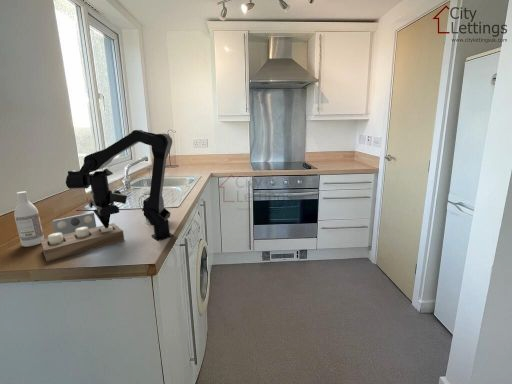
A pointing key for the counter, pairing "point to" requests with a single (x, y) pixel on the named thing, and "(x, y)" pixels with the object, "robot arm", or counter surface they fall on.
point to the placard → (74, 223)
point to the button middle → (82, 232)
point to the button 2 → (106, 229)
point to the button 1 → (55, 238)
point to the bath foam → (27, 221)
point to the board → (81, 242)
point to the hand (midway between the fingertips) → (106, 227)
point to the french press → (146, 192)
